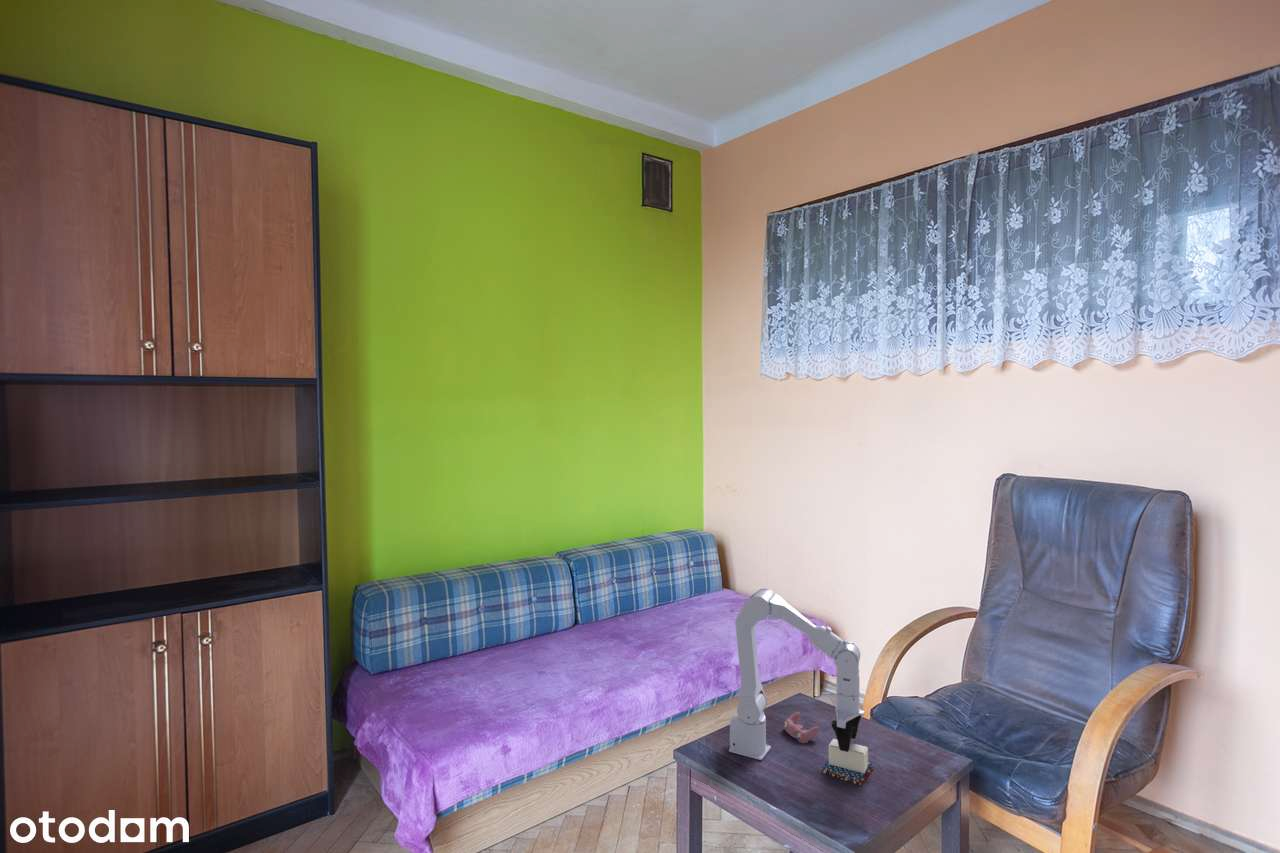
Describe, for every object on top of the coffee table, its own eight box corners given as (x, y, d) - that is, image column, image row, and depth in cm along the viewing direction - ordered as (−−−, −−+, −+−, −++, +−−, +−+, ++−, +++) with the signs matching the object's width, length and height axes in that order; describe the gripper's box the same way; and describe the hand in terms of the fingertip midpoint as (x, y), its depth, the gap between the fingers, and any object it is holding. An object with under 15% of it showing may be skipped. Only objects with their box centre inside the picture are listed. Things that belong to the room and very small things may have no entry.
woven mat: (861, 788, 165) (861, 780, 165) (820, 775, 172) (820, 767, 171) (875, 770, 173) (875, 762, 173) (835, 758, 180) (835, 750, 180)
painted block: (864, 773, 168) (864, 753, 168) (828, 764, 173) (828, 744, 173) (867, 766, 172) (867, 746, 172) (832, 757, 176) (832, 738, 176)
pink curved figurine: (798, 724, 197) (778, 729, 194) (798, 710, 197) (779, 714, 194) (820, 742, 188) (800, 748, 186) (821, 727, 188) (801, 732, 185)
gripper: (857, 706, 164) (857, 760, 164) (869, 685, 176) (869, 735, 177) (828, 700, 167) (828, 753, 168) (842, 679, 180) (842, 729, 180)
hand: (847, 744), depth 172 cm, fingers open, 7 cm apart
